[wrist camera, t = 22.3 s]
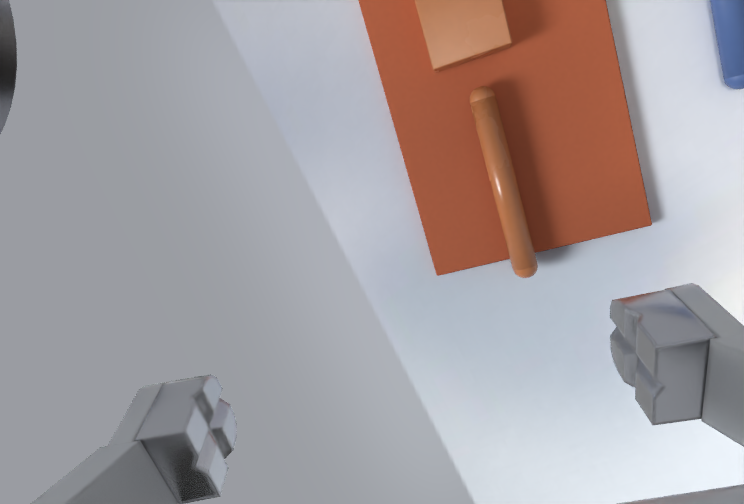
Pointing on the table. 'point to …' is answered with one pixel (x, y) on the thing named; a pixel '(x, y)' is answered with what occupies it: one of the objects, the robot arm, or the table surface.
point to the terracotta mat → (514, 129)
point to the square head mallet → (482, 104)
